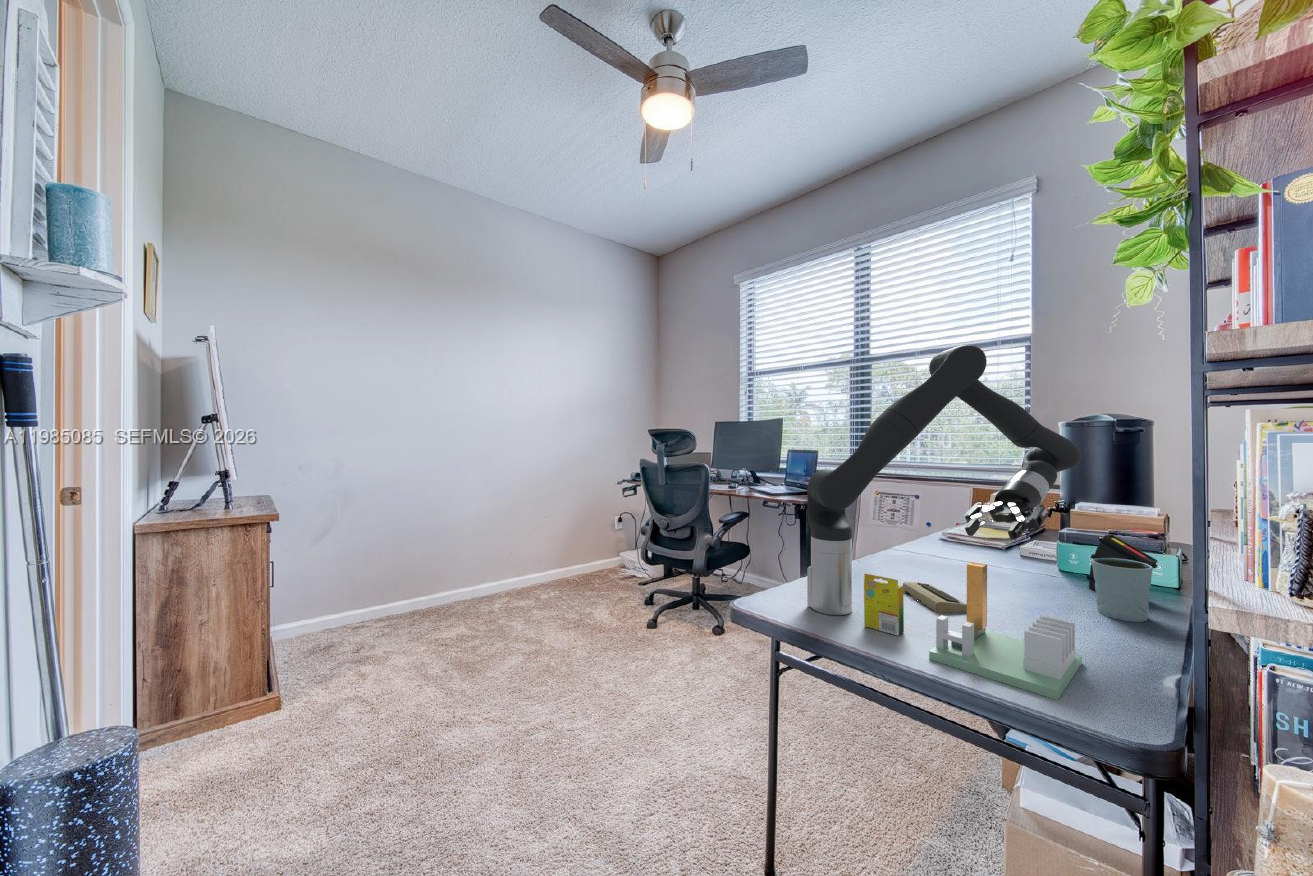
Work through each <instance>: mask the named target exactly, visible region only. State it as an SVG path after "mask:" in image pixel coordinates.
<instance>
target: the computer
mask: <svg viewBox="0 0 1313 876" xmlns="http://www.w3.org/2000/svg"><path fill="white" fill-rule="evenodd" d="M902 586H903V593H904V592H905V593H909V595H910V598H912V599H913V598H914V599H913V600H915V601H917V600H918V601H919V602H918V601H917V602H918V603H919V604H921V605H924V606H925V605H926V606H925V607H926V608H927V607H929V609H930V610H931V609H932V610H931V611H933V610H934V611H933V612H934V613H935V612H936V613H935V614H950V613H949V612H952V613H953V612H957V613H958V612H967V603H965V602H963V601H961V600H959V599H958V598H955V597H954V596H952V595H950V594H949V593H947V592H945V591H943V590H941V589H939V588H938V587H936V586H934V585H932V584H930V583H924V582H923V583H922V582H919V581H918V582H913V581H903V583H902ZM905 593H904V594H905ZM947 612H948V613H947ZM952 613H951V614H952ZM957 613H956V614H957ZM953 614H954V613H953Z"/></svg>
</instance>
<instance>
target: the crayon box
mask: <svg viewBox="0 0 1313 876" xmlns="http://www.w3.org/2000/svg"><path fill="white" fill-rule="evenodd" d="M863 578H864V580H863V581H864V582H863V583H864V584H863V597H864V598H863V602H864V604H863V607H864V609H863V613H864V614H863V616H864V618H863V619H864V620H863V621H864V623H863V624H864V627H865V628H869V627H870V629H872V628H873V629H872V630H877V631H880V632H884V633H888V634H890V633H891V635H895V636H897V637H899V636H901V635H902V634H903V633H904V632H905V626H904V623H905V620H904V619H905V615H904V614H905V613H904V610H905V609H904V608H905V607H904V606H905V605H904V604H905V603H904V592H903V585H899V584H898V583H899V580H898V579H896V578H895V579H894V578H891V577H884V576H880V575H874V574H869V573H864V577H863ZM877 580H882V581H884V582H882V581H877Z"/></svg>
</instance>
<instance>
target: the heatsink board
mask: <svg viewBox="0 0 1313 876" xmlns="http://www.w3.org/2000/svg"><path fill="white" fill-rule="evenodd" d="M935 621H936V622H935V623H936V627H935V632H936V634H935V635H936V636H935V642H936V643H935V646H934V647H932V648H931V649H930V650H929V651H928V656H929V657H928V660H930V659H931V661H934V662H937V663H940V664H944V665H946V664H947V665H946V666H949V665H950V666H949V667H952V666H953V668H955V669H959V668H960V669H959V670H962V671H965V672H969V673H970V674H971V673H972V674H974V673H975V675H978V676H981V677H984V678H986V679H987V678H988V679H989V680H993V681H996V682H1000V683H1002V682H1003V683H1004V684H1006V685H1010V686H1013V687H1016V688H1018V689H1021V690H1025V691H1028V692H1031V693H1033V694H1038V695H1040V696H1043V697H1047V698H1049V699H1053V700H1056V701H1058V700H1059V699H1060V697H1061V695H1062V694H1063V692H1064V691H1065V690H1066V688H1067V687H1068V685H1069V684H1070V682H1071V680H1072V679H1073V678H1074V676H1075V675H1076V673H1077V671H1078V670H1079V668H1080V667H1081V665H1082V663H1083V655H1082V654H1080V653H1076V652H1077V651H1076V649H1077V647H1076V622H1072V621H1068V620H1063V619H1059V618H1054V617H1050V616H1045V615H1040V616H1039V618H1036V620H1035V622H1032V626H1031V625H1030V626H1028V629H1025V630H1024V634H1023V635H1024V636H1023V638H1024V639H1021V638H1018V637H1014V636H1009V635H1006V634H1002V633H998V632H994V631H991V630H986V629H985V633H984V634H983V635H982V636H980V637H979V638H978V639H977V640H975V641H974V623H970V622H967V621H966V622H965V623H963V624H962V625H961V627H960V628H959V629H958V630H956V631H954V630H950V629H949V617H948V616H947V615H943V614H941V615H939V616H938V617H936V619H935ZM961 631H962V634H961V633H960V632H961ZM951 641H953V642H957V643H960V644H962V649H961V648H958V647H954V646H951Z"/></svg>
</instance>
